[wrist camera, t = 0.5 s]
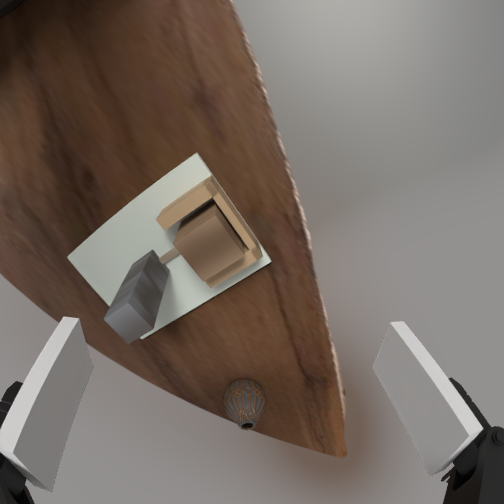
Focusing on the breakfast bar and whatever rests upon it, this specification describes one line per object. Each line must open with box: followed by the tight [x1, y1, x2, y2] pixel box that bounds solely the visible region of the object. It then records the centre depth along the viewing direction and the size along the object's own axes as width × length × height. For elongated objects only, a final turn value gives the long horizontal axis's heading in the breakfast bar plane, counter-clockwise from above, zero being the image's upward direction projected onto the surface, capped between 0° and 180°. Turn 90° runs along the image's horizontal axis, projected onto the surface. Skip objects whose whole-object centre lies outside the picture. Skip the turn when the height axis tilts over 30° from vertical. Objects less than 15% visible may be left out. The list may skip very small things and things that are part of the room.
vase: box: [223, 378, 266, 430], centre depth 44 cm, size 7×7×9 cm
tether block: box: [104, 200, 245, 344], centre depth 31 cm, size 5×14×12 cm, turn 122°
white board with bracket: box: [67, 153, 271, 339], centre depth 35 cm, size 16×22×5 cm
